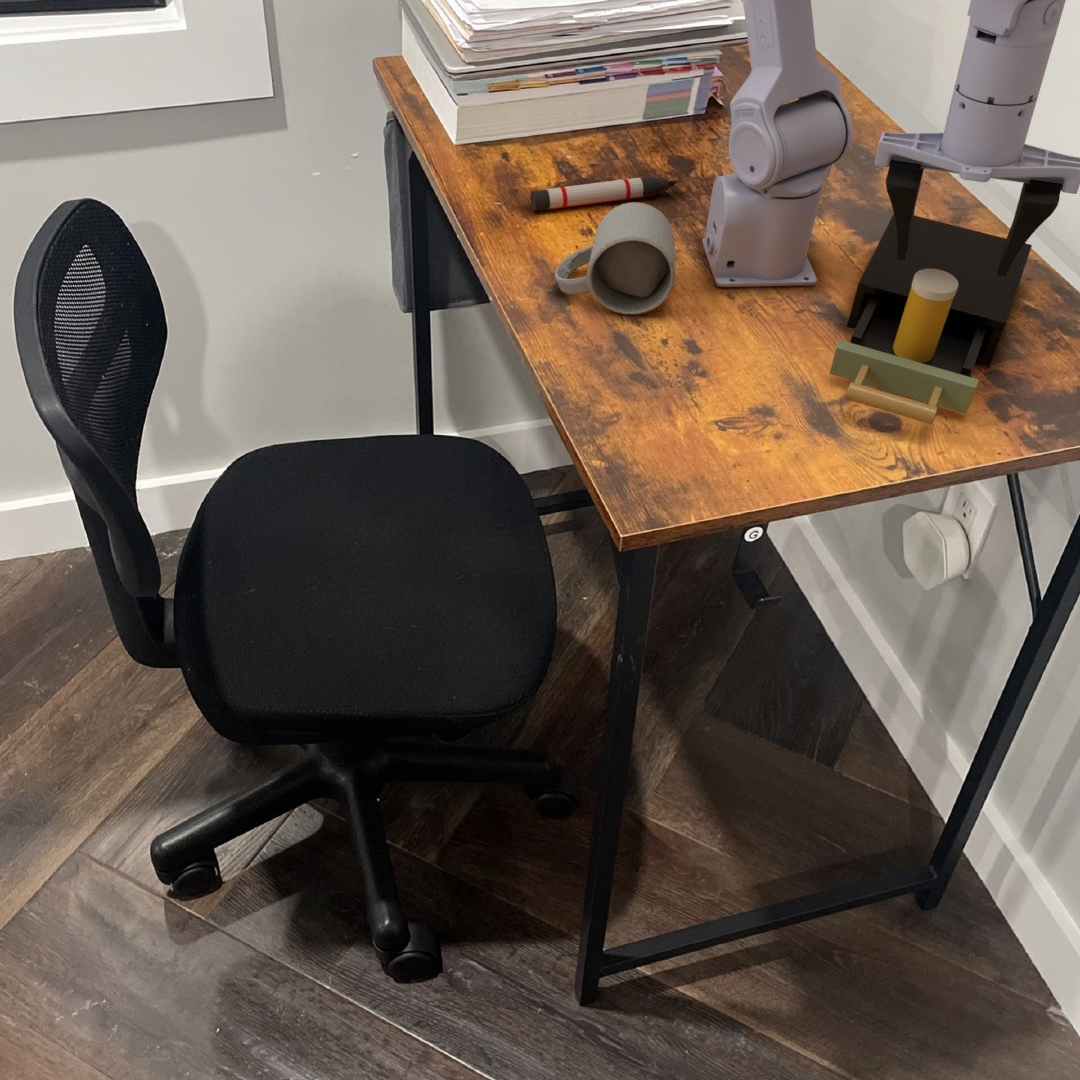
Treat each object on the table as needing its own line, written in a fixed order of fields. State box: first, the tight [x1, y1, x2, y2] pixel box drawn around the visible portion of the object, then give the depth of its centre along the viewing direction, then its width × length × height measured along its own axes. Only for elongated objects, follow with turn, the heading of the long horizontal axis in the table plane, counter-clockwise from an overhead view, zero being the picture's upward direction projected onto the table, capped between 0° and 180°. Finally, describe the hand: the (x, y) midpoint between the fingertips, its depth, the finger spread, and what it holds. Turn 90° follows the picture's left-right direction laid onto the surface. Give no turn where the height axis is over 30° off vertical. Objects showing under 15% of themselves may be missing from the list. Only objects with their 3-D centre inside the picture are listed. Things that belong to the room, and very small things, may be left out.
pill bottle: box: [893, 269, 958, 363], centre depth 93 cm, size 4×4×7 cm
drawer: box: [829, 295, 988, 425], centre depth 95 cm, size 17×11×3 cm
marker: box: [529, 175, 678, 212], centre depth 115 cm, size 15×2×2 cm, turn 107°
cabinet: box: [846, 213, 1033, 367], centre depth 103 cm, size 14×13×5 cm
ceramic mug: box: [554, 201, 676, 316], centre depth 102 cm, size 11×8×8 cm
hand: (951, 261), depth 90 cm, fingers open, 7 cm apart
